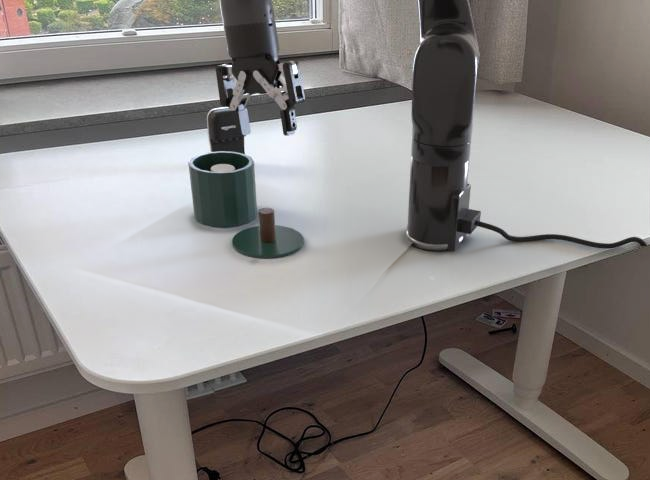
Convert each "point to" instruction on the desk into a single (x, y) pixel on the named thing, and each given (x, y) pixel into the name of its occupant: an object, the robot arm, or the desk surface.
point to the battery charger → (223, 131)
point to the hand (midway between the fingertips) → (267, 134)
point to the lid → (267, 238)
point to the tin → (223, 189)
